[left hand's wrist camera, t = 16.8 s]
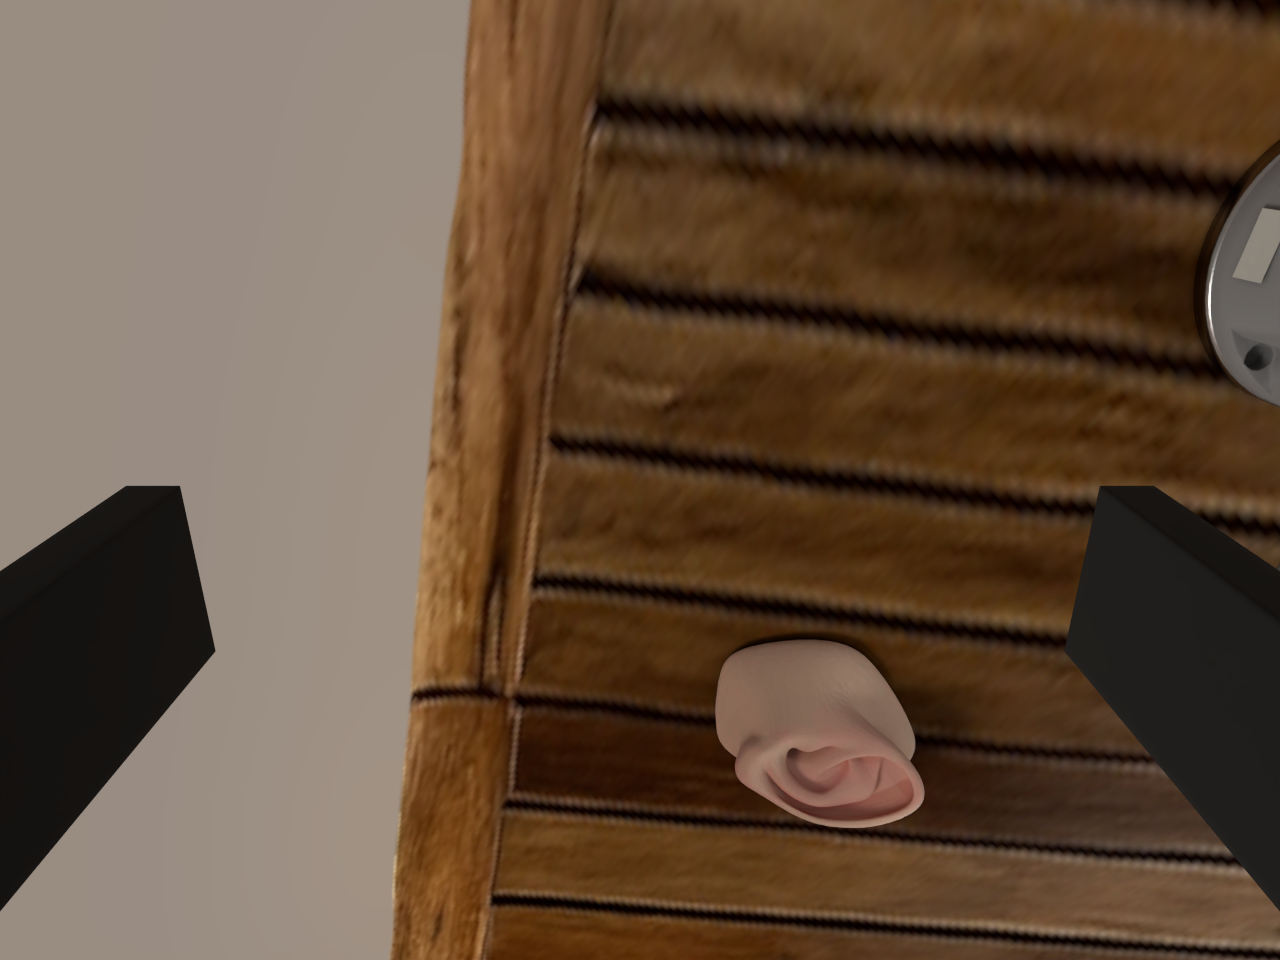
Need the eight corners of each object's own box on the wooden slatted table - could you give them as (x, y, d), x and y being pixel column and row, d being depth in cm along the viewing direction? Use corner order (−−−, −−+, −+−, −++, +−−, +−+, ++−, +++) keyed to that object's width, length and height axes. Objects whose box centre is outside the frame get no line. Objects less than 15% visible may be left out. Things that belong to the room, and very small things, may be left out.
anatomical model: (689, 707, 49) (884, 640, 47) (686, 667, 52) (866, 604, 51) (767, 870, 53) (947, 815, 52) (759, 823, 57) (926, 769, 55)
